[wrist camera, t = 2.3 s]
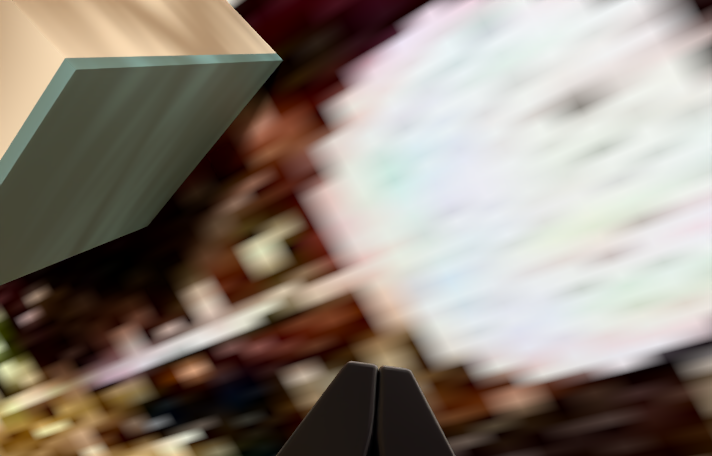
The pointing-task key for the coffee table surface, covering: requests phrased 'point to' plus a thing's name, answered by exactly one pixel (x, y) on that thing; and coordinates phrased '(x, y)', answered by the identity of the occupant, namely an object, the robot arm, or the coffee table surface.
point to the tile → (110, 114)
